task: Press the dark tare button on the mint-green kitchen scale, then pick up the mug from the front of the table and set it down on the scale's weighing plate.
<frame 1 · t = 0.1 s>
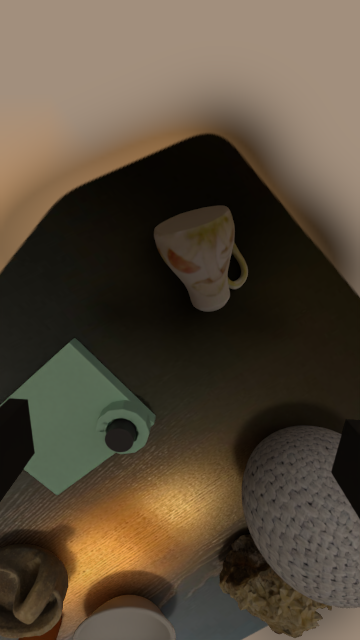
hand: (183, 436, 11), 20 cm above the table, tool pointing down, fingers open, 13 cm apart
decorative ball: (288, 447, 35), on the table
dish: (130, 598, 45), on the table
mineral specimen: (266, 546, 41), on the table
mug: (203, 259, 29), on the table
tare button: (120, 435, 30), point 4 cm above the table, slide at 0.1 cm
bowl: (41, 551, 42), on the table
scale: (68, 418, 35), on the table
alarm clock: (32, 633, 49), on the table
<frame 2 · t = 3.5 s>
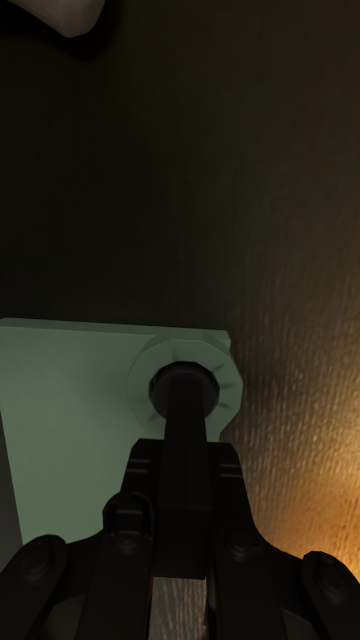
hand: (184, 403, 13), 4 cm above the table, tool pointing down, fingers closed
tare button: (184, 390, 15), point 3 cm above the table, slide at -0.8 cm, touching gripper
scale: (117, 441, 19), on the table
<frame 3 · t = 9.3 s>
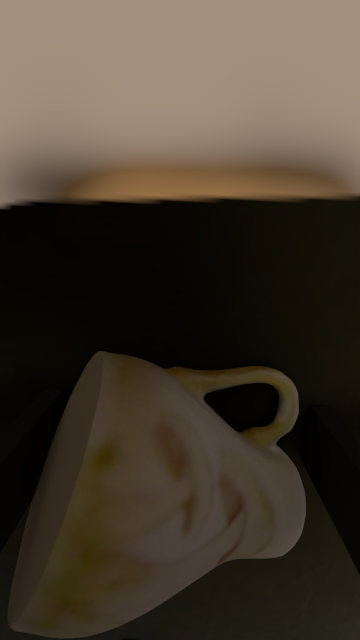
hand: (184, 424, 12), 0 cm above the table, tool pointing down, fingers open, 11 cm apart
mug: (185, 416, 12), on the table, touching gripper
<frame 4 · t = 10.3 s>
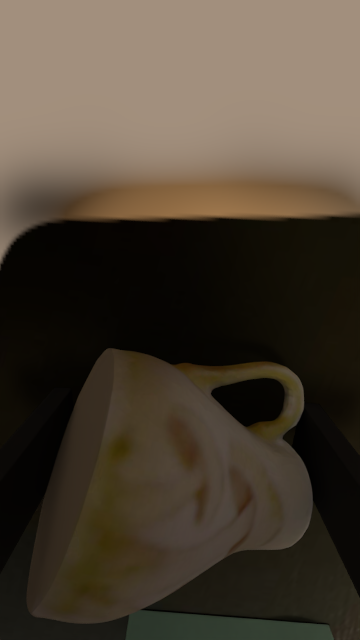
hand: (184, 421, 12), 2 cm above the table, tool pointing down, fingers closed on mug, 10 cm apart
mug: (192, 412, 13), point 2 cm above the table, touching gripper
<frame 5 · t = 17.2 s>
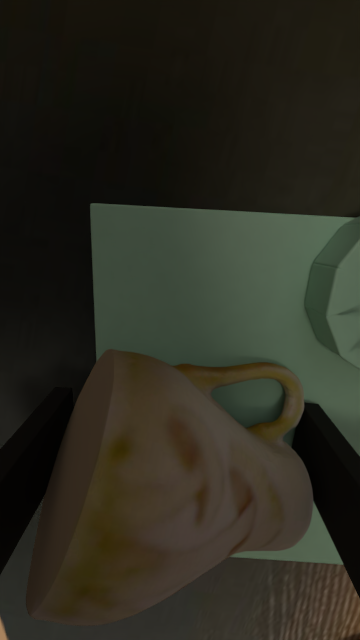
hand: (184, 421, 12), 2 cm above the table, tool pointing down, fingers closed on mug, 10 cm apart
mug: (192, 413, 13), point 2 cm above the table, touching gripper, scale
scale: (241, 400, 14), on the table
when the fingers open (2 cm above the table, at t = 17.4 s): mug stays where it is, resting on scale.
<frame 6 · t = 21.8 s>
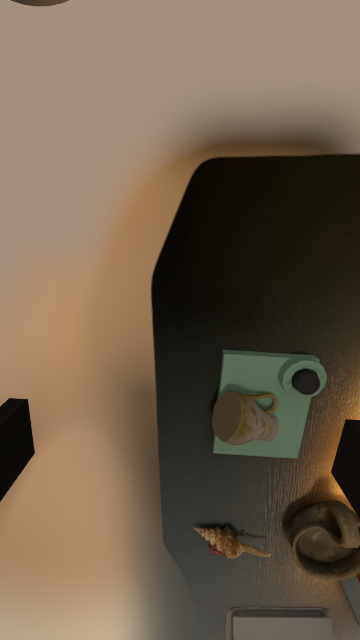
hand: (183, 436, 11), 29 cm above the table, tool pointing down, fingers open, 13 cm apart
spiral seashell: (228, 530, 52), on the table
mug: (245, 406, 42), point 2 cm above the table, touching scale
book: (277, 628, 61), on the table
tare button: (305, 381, 38), point 4 cm above the table, slide at 0.1 cm
bowl: (318, 509, 50), on the table
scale: (260, 403, 44), on the table
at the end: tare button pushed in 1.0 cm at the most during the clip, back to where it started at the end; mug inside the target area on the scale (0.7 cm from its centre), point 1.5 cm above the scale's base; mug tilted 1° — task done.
